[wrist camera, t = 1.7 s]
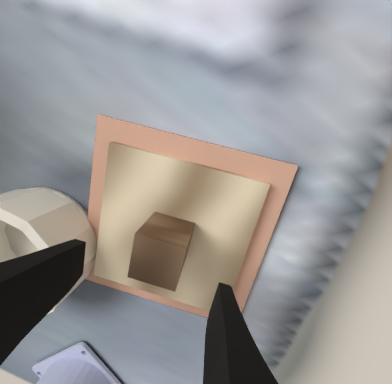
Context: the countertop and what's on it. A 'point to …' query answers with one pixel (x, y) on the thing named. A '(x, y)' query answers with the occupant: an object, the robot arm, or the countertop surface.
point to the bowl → (43, 225)
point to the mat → (206, 155)
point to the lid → (174, 224)
